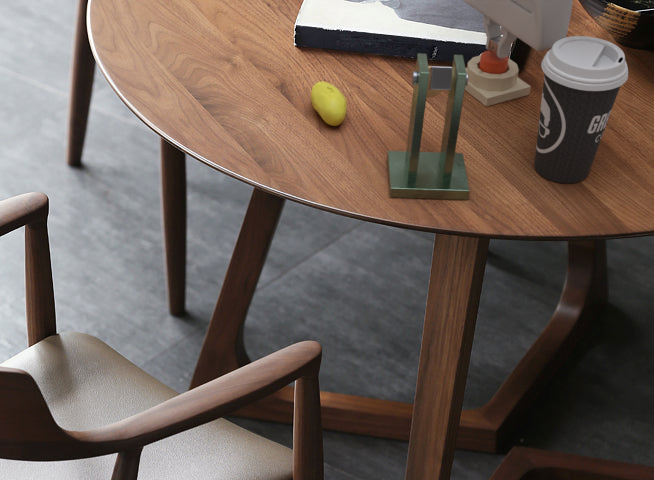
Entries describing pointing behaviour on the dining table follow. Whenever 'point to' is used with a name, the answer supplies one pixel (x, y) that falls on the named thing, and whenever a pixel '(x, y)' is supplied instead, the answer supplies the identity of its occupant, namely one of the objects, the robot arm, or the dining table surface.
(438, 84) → the lever
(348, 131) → the dining table surface
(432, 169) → the bracket
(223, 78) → the dining table surface
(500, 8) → the robot arm
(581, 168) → the coffee cup
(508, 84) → the button box
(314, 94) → the lemon
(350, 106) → the dining table surface
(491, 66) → the button
